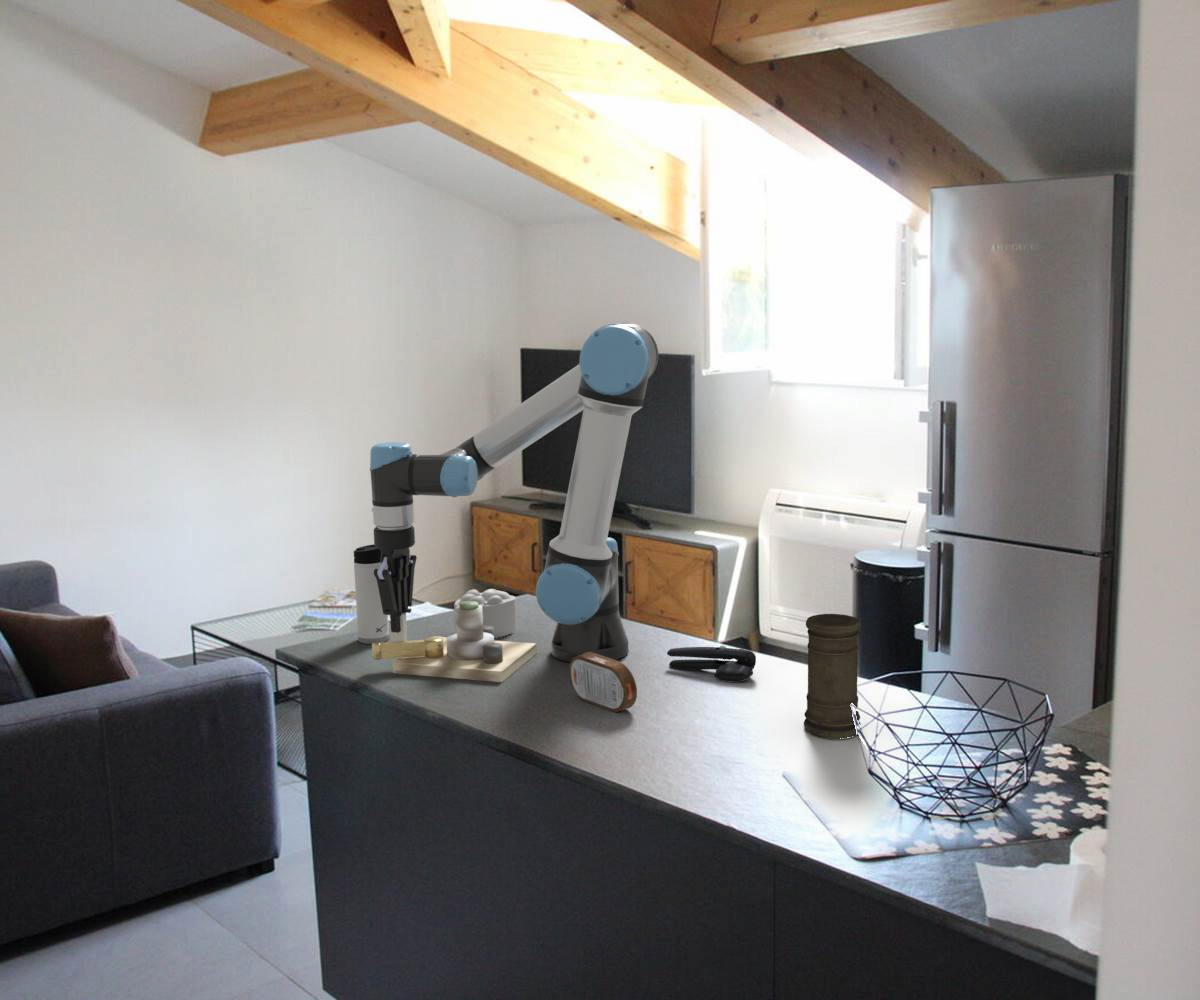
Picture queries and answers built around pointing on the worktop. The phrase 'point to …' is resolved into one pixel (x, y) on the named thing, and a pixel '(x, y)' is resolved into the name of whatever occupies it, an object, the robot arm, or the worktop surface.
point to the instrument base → (468, 667)
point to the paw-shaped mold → (494, 610)
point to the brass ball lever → (408, 648)
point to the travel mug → (369, 596)
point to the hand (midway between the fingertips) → (399, 646)
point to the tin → (603, 681)
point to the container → (832, 675)
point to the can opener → (716, 661)
